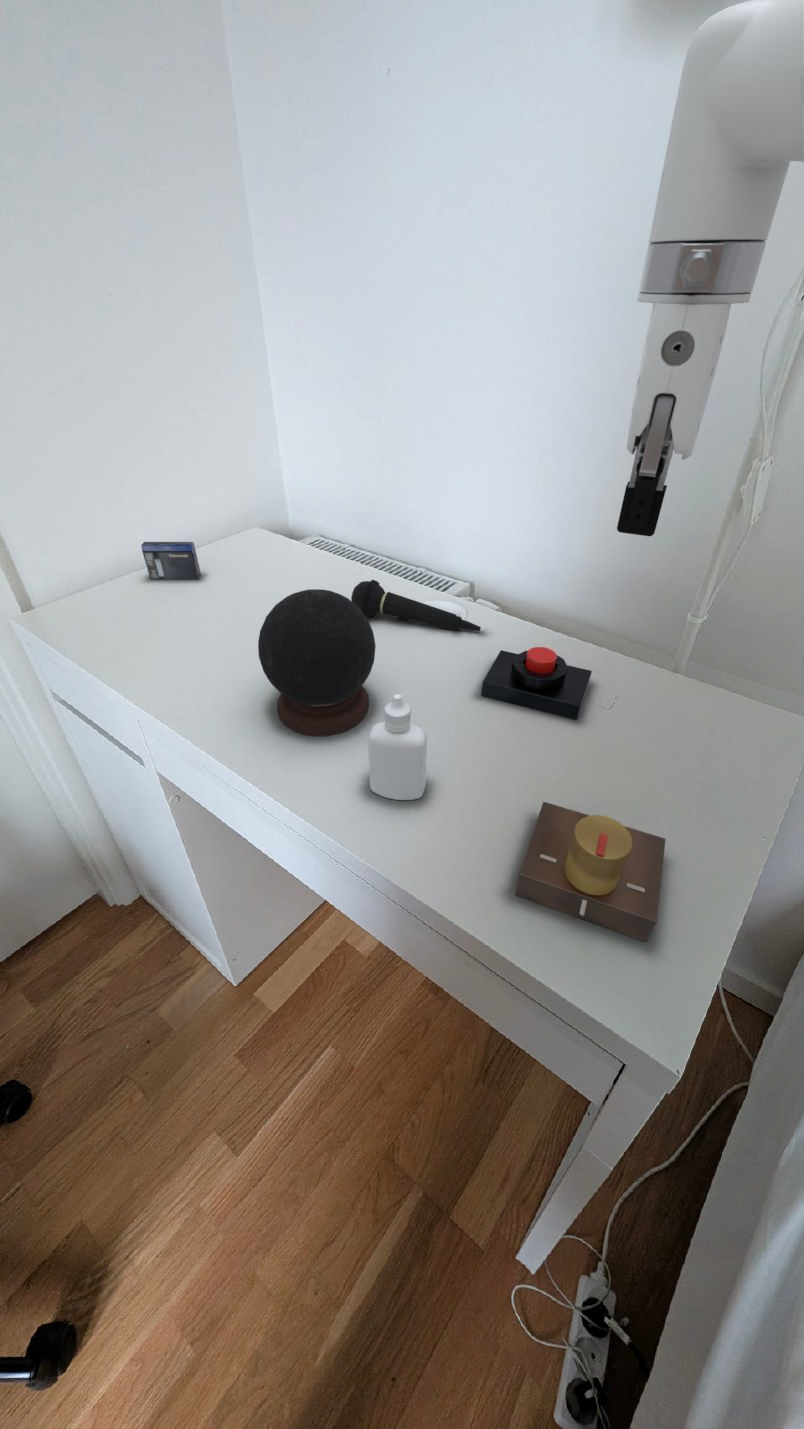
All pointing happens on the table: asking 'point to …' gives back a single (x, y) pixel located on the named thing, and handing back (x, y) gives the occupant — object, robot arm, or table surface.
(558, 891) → the panel
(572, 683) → the button box
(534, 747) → the table surface
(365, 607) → the microphone
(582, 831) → the knob
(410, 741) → the eye dropper bottle
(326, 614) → the black ball on stand
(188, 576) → the mini dv tape
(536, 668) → the button
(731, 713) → the table surface
